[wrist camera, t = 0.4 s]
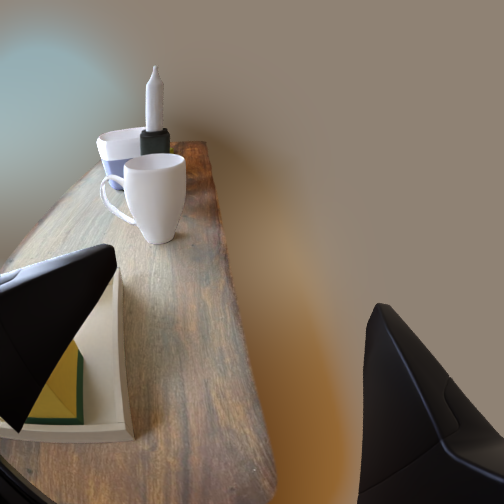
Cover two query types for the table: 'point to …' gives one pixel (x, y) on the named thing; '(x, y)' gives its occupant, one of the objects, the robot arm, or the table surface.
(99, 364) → the tray
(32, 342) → the robot arm
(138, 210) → the mug
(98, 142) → the bowl
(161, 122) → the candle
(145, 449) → the table surface
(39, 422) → the block
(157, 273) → the table surface
